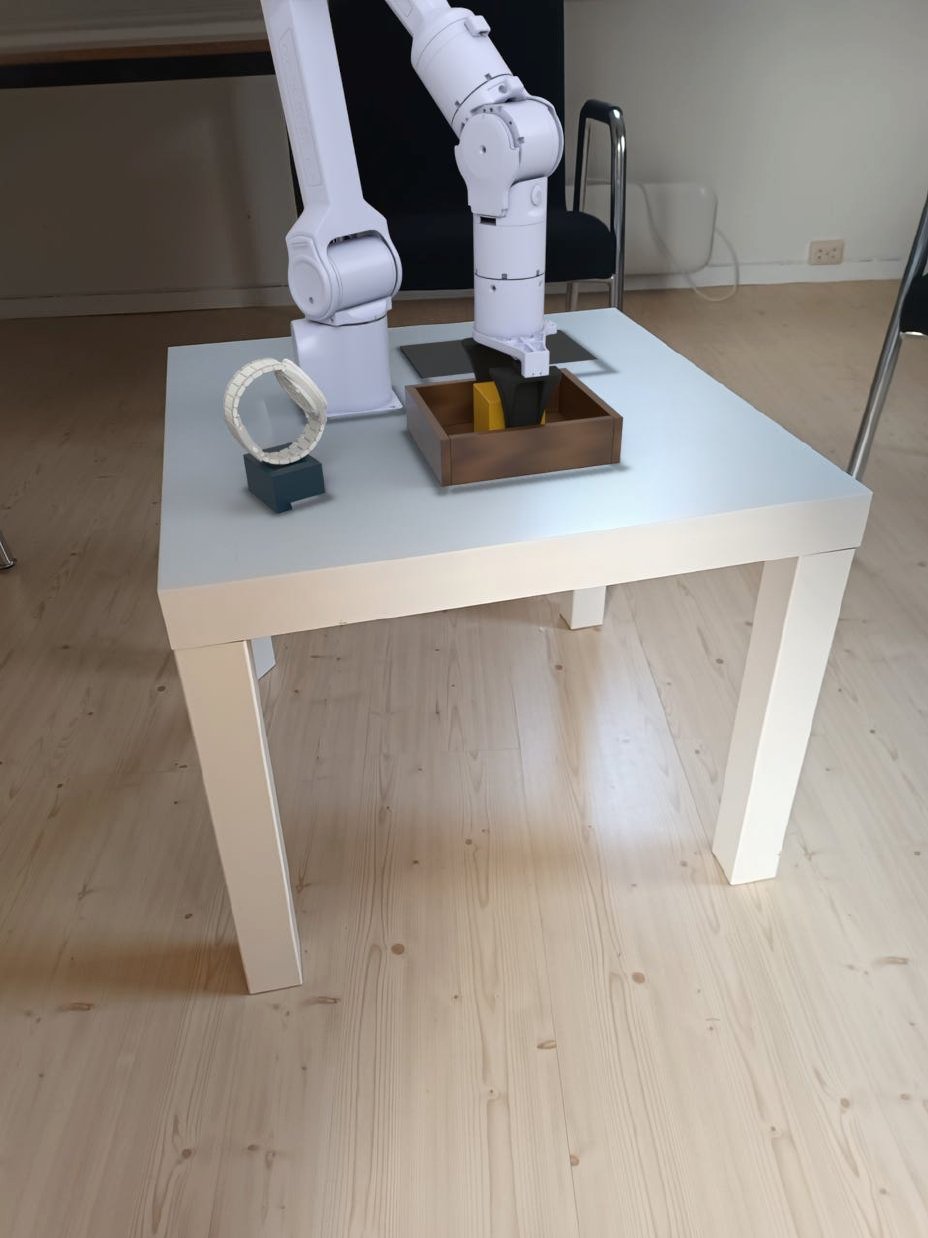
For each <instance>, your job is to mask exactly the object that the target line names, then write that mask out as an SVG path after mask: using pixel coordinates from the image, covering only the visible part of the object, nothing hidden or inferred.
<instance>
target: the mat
mask: <svg viewBox="0 0 928 1238" xmlns="http://www.w3.org/2000/svg"><path fill="white" fill-rule="evenodd" d="M461 340H462V339H455V340H446V341H436V342H425V343H424V342H423V343H416V344H407V345H400V346H399V349H400V350H401V352H402V354H403V355H404V356H405V358H406V359H407V360H408V361H409V363H410V364H411V365H412V367H413V369H414V370H415V371H416V372H417V375H418V376H419V377H420V378H421V379H430V378H439V377H440V378H441V377H449V376H458V375H467V374H474V372H473V369H472V366H471V363H470V361H469V358H468V356H467V354H466V352H465V350H464V348H463V346H462V344H461ZM545 346H546V348H547V350H548V351H549V366H551V365H559V364H567V363H576V362H577V363H578V362H585V361H587V362H588V361H595V360H598V358H597V357H596V356H594V355H593V353H591V352H590V351H588V350H587V349H586V348H585V347H583V346H582V345H580V344H579V343H578V342H576V340H574V339H572V338H571V336H569V335H568V334H566V333H565V332H564V331H562V330H561V329H557V333H556V334H551V335H547V336H546V341H545Z"/></svg>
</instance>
